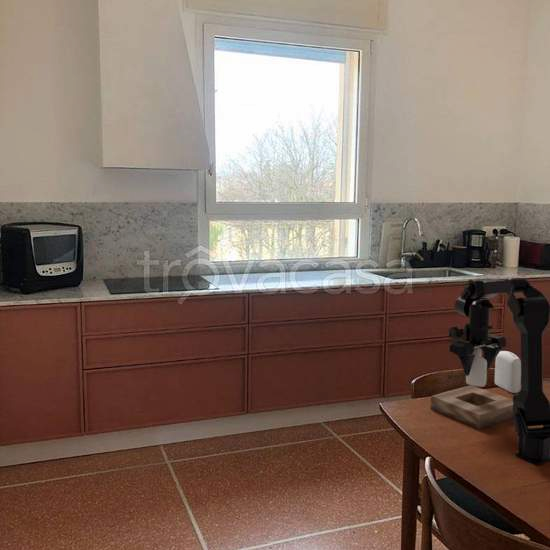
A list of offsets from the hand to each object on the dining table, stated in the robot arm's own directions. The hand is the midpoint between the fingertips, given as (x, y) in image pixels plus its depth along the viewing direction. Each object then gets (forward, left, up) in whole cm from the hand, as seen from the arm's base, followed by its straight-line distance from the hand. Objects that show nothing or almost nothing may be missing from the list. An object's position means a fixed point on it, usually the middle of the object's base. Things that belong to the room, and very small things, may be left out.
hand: (476, 372), depth 177 cm
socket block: (0, 0, -12) cm, 12 cm away
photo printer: (+8, -26, -12) cm, 30 cm away
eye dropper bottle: (0, 0, -4) cm, 4 cm away
